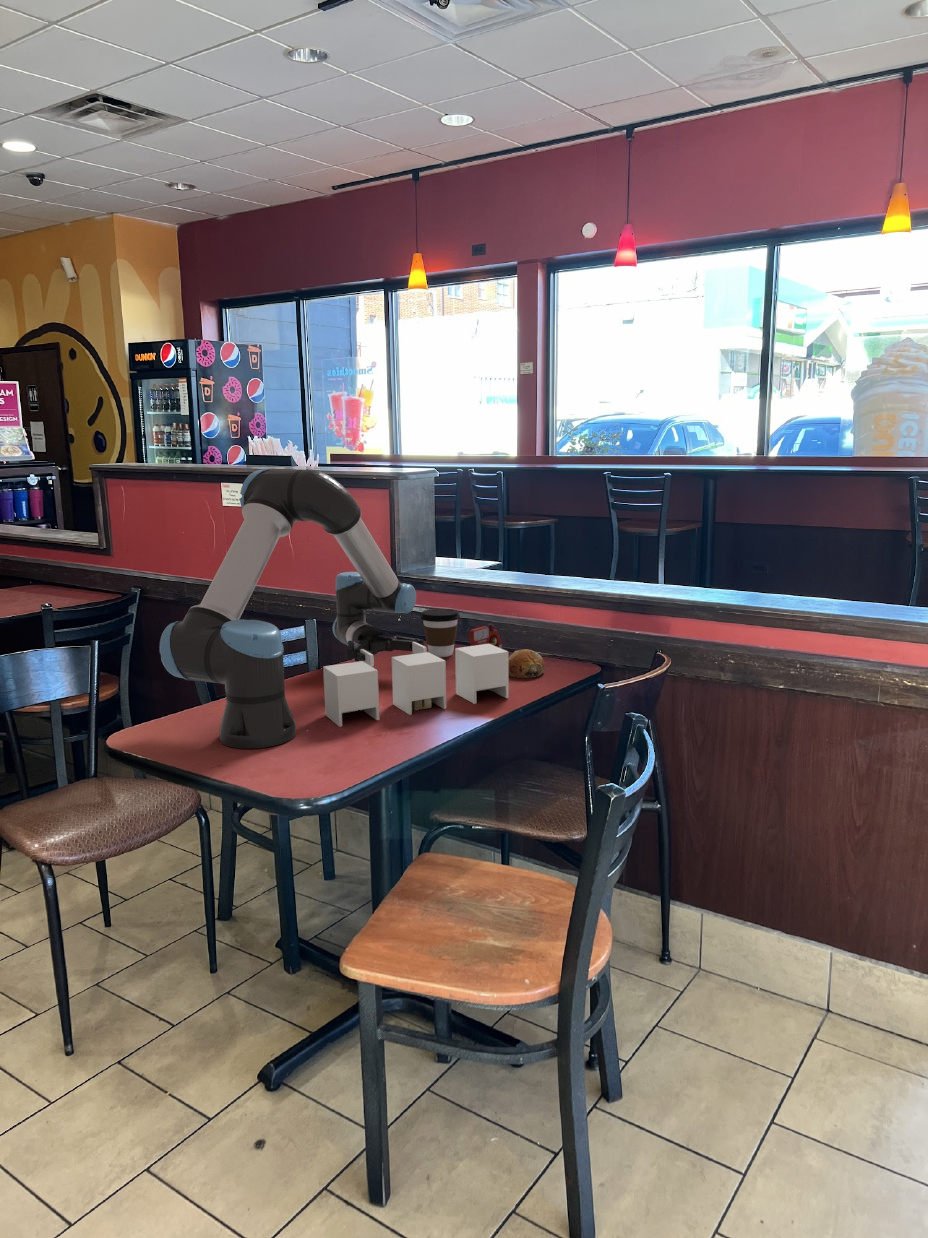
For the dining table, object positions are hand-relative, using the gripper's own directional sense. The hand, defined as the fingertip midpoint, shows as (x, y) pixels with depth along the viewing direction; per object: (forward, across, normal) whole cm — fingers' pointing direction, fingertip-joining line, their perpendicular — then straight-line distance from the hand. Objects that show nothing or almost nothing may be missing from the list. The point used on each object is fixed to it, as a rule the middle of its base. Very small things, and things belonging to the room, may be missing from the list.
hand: (399, 656), depth 209 cm
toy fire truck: (-12, -30, -9) cm, 34 cm away
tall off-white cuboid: (+13, +1, -8) cm, 15 cm away
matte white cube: (+13, +17, -8) cm, 23 cm away
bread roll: (+1, -34, -9) cm, 35 cm away
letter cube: (+13, +1, -9) cm, 15 cm away
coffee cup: (-27, -24, -9) cm, 37 cm away
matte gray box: (+13, -15, -9) cm, 22 cm away
